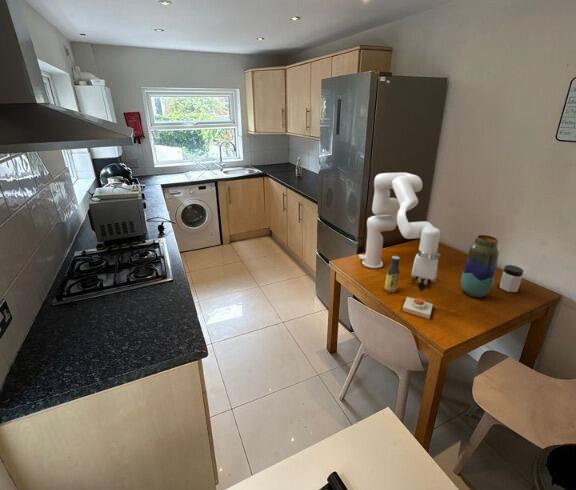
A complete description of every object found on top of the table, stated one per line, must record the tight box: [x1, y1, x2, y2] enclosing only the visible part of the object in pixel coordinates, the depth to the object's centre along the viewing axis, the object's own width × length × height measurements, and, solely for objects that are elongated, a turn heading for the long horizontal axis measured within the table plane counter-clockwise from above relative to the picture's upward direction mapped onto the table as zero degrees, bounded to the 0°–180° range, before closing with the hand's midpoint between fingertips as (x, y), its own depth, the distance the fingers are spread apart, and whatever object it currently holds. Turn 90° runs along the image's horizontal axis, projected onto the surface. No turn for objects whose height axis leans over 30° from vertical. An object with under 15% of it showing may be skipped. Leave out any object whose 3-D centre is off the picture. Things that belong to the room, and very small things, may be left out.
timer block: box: [402, 296, 434, 320], centre depth 144 cm, size 12×10×4 cm
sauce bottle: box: [384, 255, 401, 295], centre depth 156 cm, size 7×6×20 cm
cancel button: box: [415, 297, 424, 305], centre depth 143 cm, size 4×4×2 cm
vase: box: [460, 234, 500, 298], centre depth 153 cm, size 14×14×31 cm
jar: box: [499, 264, 524, 293], centre depth 160 cm, size 9×8×12 cm
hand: (421, 289), depth 141 cm, fingers closed
